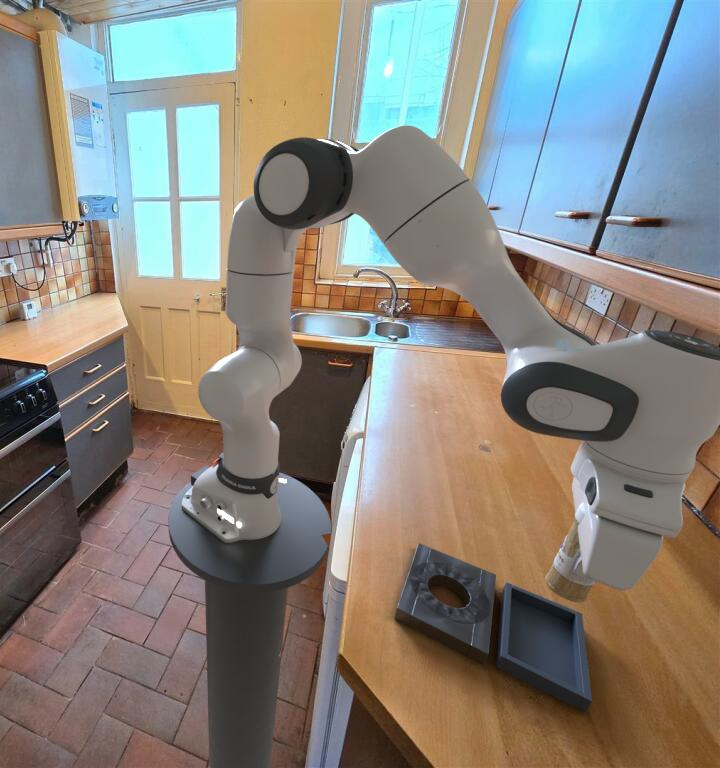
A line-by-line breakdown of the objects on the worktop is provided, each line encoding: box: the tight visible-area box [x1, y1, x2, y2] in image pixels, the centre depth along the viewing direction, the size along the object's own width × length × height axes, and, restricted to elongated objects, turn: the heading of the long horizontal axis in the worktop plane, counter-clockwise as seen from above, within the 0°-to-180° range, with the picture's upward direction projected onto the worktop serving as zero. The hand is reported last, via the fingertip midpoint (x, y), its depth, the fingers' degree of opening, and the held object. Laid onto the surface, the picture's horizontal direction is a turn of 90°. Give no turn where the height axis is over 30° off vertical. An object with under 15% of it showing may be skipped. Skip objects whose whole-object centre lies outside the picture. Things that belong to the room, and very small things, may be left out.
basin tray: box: [495, 581, 593, 713], centre depth 59 cm, size 10×15×2 cm, turn 144°
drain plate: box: [394, 542, 497, 666], centre depth 66 cm, size 12×16×2 cm
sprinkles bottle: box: [544, 502, 596, 603], centre depth 52 cm, size 5×5×13 cm
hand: (580, 558), depth 53 cm, fingers closed on sprinkles bottle, 4 cm apart
